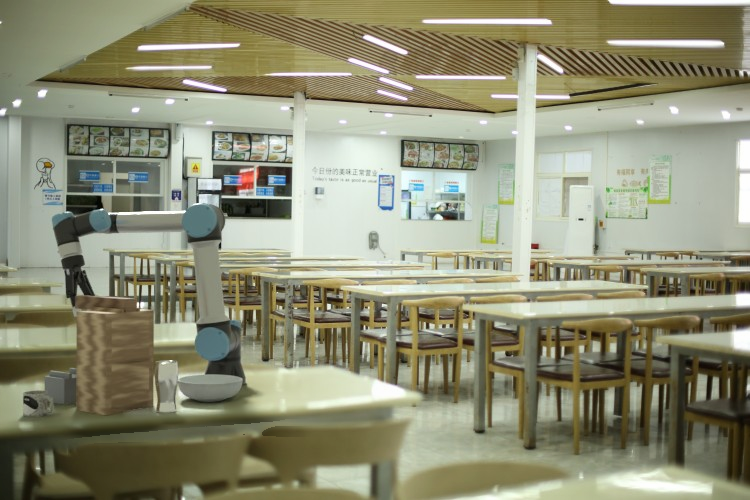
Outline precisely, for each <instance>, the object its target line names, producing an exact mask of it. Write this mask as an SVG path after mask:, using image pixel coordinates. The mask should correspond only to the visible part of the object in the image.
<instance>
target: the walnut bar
mask: <svg viewBox="0 0 750 500" xmlns="http://www.w3.org/2000/svg"><path fill="white" fill-rule="evenodd" d="M92 307H101V308H114V309H124V312H136V308H137V298H133V297H122V296H121V297H119V296H107V295H106V296H105V295H95V296H91V295H84V294H82V295H77V296H75V308H77V309H81V310H87V309H89V310H92Z"/></svg>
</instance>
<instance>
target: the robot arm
mask: <svg viewBox="0 0 750 500" xmlns="http://www.w3.org/2000/svg"><path fill="white" fill-rule="evenodd" d="M51 223H52V230H53V232H54V238H55V241H56V244H57V249H58V250H57V253H58V254H59V257H60V259H61V260H60V262H61V263H60V264H61V267H62V270H63V271H64V278H65V279H64V280H65V283H64V284H65V297H66V299H69V301H70V306H71V310H72V314H73V317H74V318H77V311H83V309H77V308H75V296H78V287H79V289H80V290H81V292H82V295H91V296H96V293H95V292H94V290H93V287H92V285H91V283H90V280H89V278H88V275H87V272H86V269H82V267H84V266H85V265H86V263H85V258H84V255H83V249H82V246H81V241H80V238H81V237H85V236H88V235H93V234H106V235H108V234H110V235H111V234H139V233H140V234H141V233H143V234H144V233H146V234H147V233H150V234H151V233H186V240H187V241H186V242H187V245H188V246H190V247H191V248H192V253H193V254H192V255H193V264H194V273H195V274H194V275H195V284H196V291H197V292H196V294H197V301H198V302H197V303H198V311H199V318H198V320H197V321H196V322H195V325H196V335H195V338H194V349H195V351H196V353H197V354H198V355H199V356H200V358H202V359H204V360H205V361H207V365H206V368H205V371H204V374H203V375H207V374H214V375H231V376H237V377H240V378H242V379H243V382H242V386H243V385H245V384H246V383H247V382H246V379H247V378H246V374H245V370H244V368H243V364H242V323H241V321H239V320H237V319H235V320H234V319H230V317H229V316H227V315H226V312H225V301H224V292H223V284H222V273H221V264H220V255H219V254H220V253H219V244H220V243H221V242H222V241H223V240H222V239H223V238H222V231H223V230H224V228H225V226H226V216H225V214H224V211H223V210H222V209H221V208H220V207H218V206H217V205H214V204H211V203H210V204H209V203H205V202H199V203H194V204H191V205H190V206H188V207H187V208H186V209H185V210H180V211H178V210H177V211H176V210H174V211H169V210H168V211H167V210H166V211H132V212H131V211H127V212H109V211H107V210H106V209H105V208H100V209H94V210H92V211H88V212H85V213H81V214H78V215H74V213H73V212H72V211H64V212H59V213H57V214H56V213H55V214H54V215H53V216H52V217H51ZM86 311H89V309H86Z"/></svg>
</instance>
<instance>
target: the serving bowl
mask: <svg viewBox="0 0 750 500" xmlns="http://www.w3.org/2000/svg"><path fill="white" fill-rule="evenodd" d="M242 382H243V379H242V378H240V377H237V376H231V375H214V374H207V375H204V374H194V375H193V374H192V375H186V376H180V377H178V384H177V387H178V388H179V389H178V390H179V391H180V393H182V395H184V397H186V398H189V399H191V400H196V401H198V402H202V403H203V402H204V403H206V402H207V403H213V402H221V401H224V400H227V399H230V398H233V397H234V396H236V395H237V394H238V393H239V392H240V390H241V388H242V386H243V385H242Z"/></svg>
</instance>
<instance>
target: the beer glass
mask: <svg viewBox="0 0 750 500" xmlns="http://www.w3.org/2000/svg"><path fill="white" fill-rule="evenodd" d="M154 363H155V364H154V365H155V367H154V385H155V390H156V396H157V399H156V400H157V404H156V409H155V412H156V413H159V414H170V413H176V412H177V404H176V395H177V391H178V390H177V388H178V379H179V366H178V365H179V364H178V361H177V360H169V359H167V360H166V359H165V360H158V361H155V362H154Z"/></svg>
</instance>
